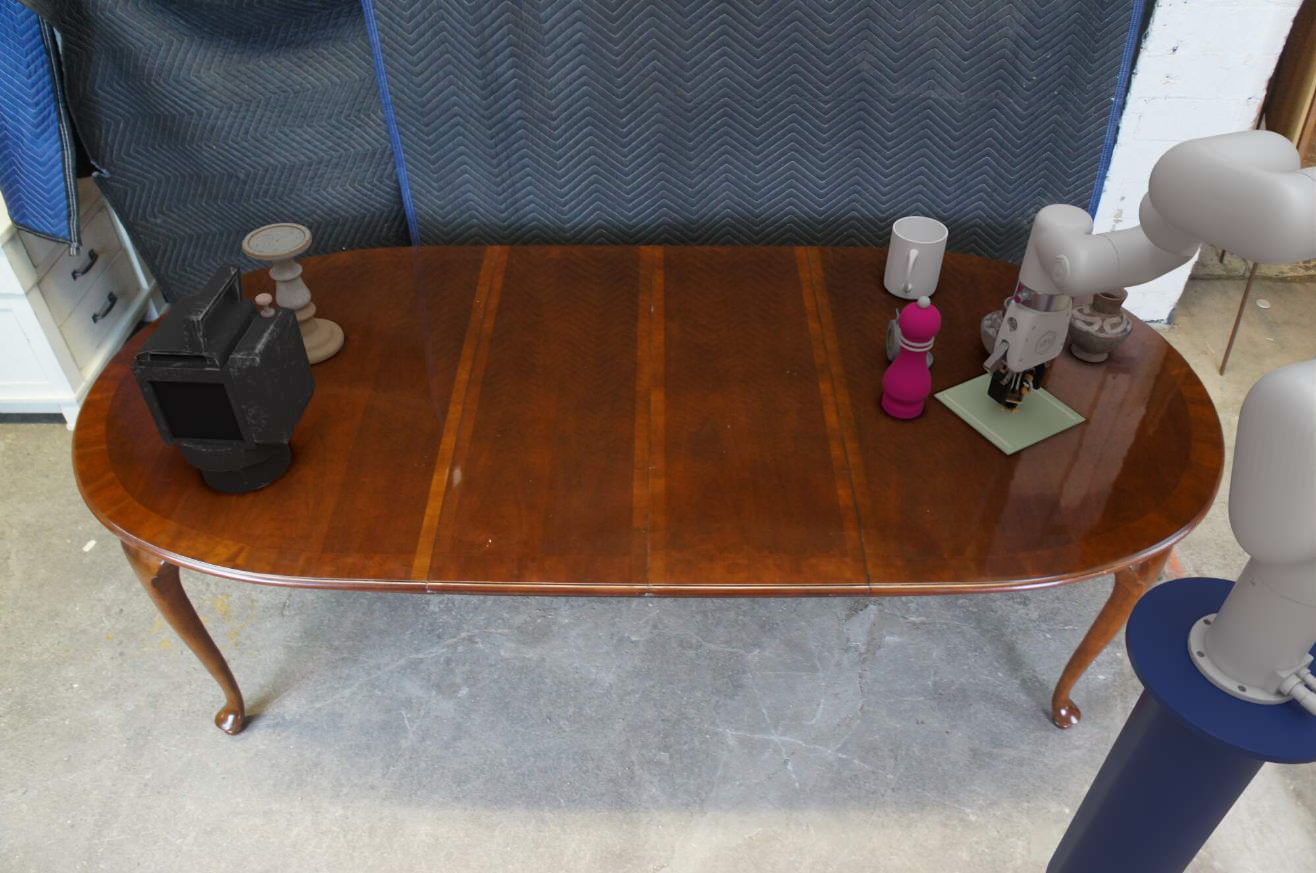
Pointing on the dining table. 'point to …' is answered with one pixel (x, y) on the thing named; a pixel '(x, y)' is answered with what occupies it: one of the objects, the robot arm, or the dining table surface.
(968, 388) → the napkin
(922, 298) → the pepper mill
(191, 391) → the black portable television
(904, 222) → the mug
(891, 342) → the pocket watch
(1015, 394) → the figurine
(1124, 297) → the pottery
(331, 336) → the candle holder
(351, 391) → the dining table surface
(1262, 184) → the robot arm
